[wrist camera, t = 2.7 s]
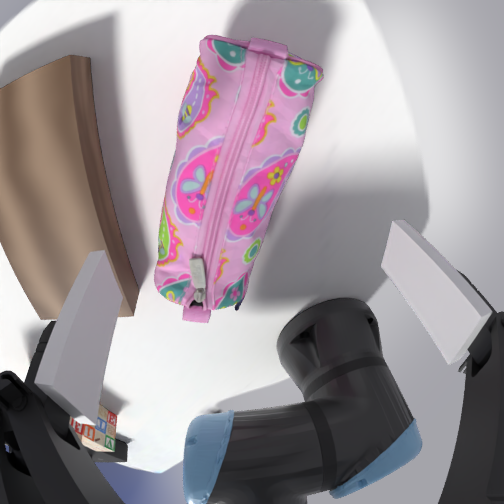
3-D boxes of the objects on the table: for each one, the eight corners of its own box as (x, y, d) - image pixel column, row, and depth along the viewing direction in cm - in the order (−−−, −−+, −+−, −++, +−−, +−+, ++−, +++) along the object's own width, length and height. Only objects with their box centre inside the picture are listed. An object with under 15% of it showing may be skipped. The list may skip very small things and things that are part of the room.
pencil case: (238, 271, 30) (250, 335, 23) (155, 257, 28) (141, 321, 20) (308, 72, 20) (358, 68, 13) (204, 41, 17) (202, 14, 10)
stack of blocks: (118, 415, 48) (114, 464, 37) (99, 416, 48) (94, 463, 38) (45, 361, 36) (28, 420, 25) (29, 365, 36) (13, 418, 26)
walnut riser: (90, 57, 16) (70, 54, 13) (139, 291, 30) (133, 316, 26) (-10, 104, 15) (-34, 111, 11) (51, 297, 28) (41, 319, 25)
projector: (82, 421, 50) (75, 489, 33) (129, 443, 59) (128, 503, 42) (52, 425, 53) (44, 481, 36) (93, 446, 62) (90, 497, 45)
